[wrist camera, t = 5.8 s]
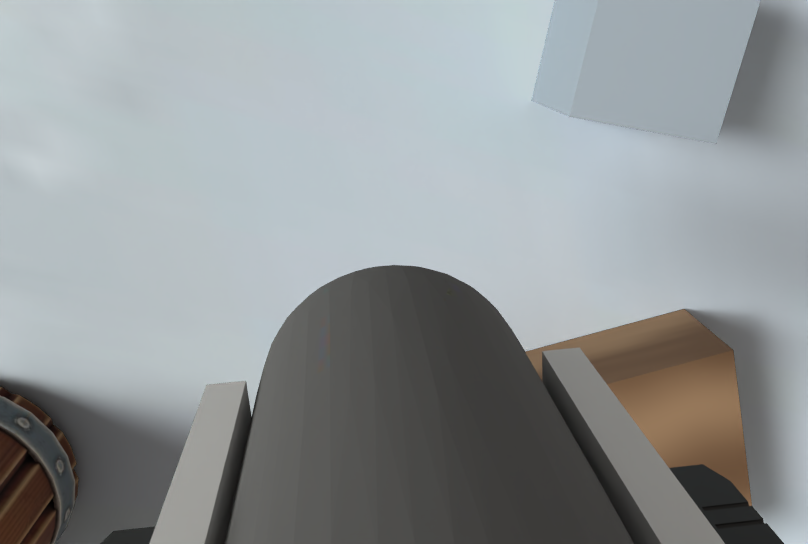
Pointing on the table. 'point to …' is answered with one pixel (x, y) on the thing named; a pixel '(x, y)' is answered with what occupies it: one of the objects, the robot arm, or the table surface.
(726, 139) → the table surface
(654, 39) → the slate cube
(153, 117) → the table surface
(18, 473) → the mug
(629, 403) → the walnut block
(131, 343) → the table surface
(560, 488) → the bottle
